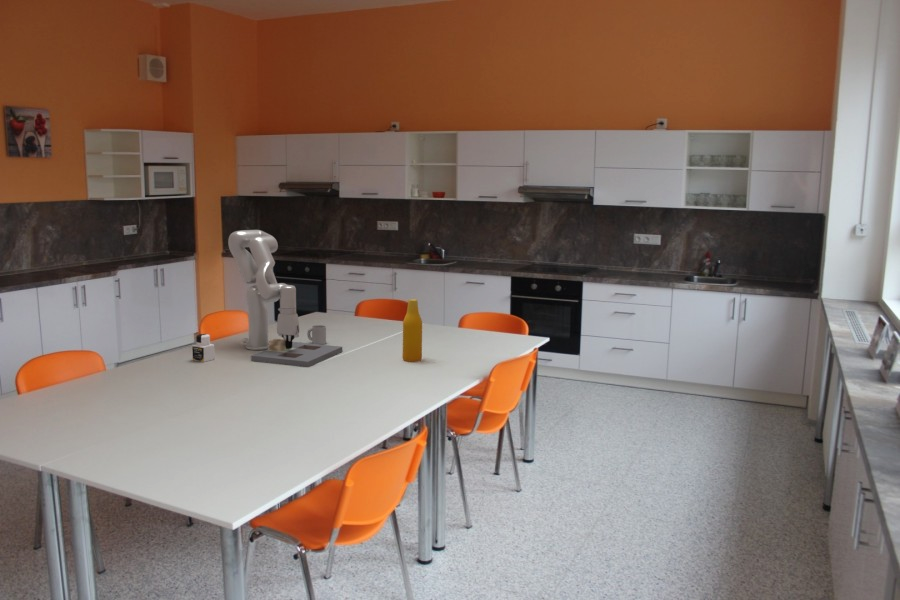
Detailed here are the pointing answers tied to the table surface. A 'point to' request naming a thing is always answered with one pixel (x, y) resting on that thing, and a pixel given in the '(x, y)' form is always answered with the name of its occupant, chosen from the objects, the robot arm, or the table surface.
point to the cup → (317, 334)
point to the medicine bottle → (203, 349)
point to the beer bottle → (412, 333)
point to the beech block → (277, 345)
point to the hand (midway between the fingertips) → (288, 348)
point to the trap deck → (298, 354)
